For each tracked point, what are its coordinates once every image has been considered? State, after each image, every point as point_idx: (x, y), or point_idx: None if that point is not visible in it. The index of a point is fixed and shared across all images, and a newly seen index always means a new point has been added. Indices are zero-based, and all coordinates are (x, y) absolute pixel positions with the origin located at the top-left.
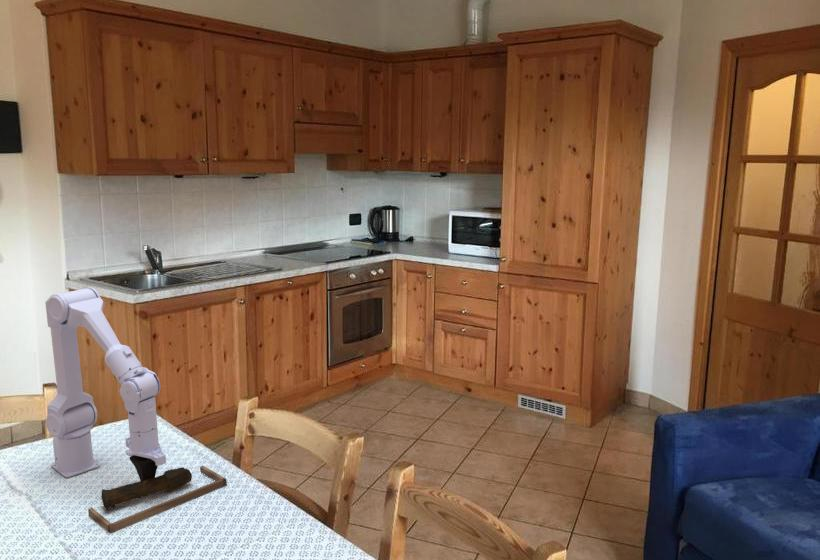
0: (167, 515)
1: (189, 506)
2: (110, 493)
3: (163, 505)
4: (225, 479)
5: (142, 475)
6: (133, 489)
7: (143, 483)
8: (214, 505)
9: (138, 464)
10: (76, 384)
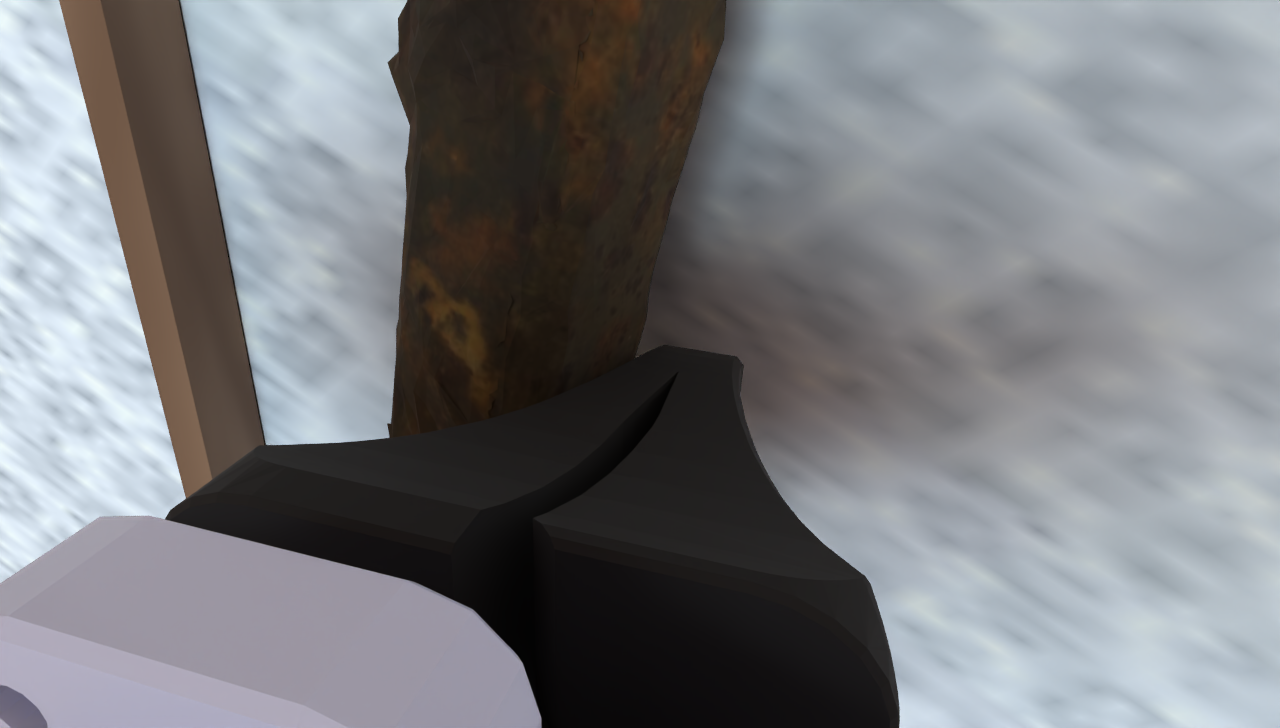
0: (87, 159)
1: (143, 385)
2: None
3: (121, 205)
4: None
5: (538, 404)
6: (410, 79)
7: (445, 294)
8: (63, 495)
9: (244, 459)
10: None
